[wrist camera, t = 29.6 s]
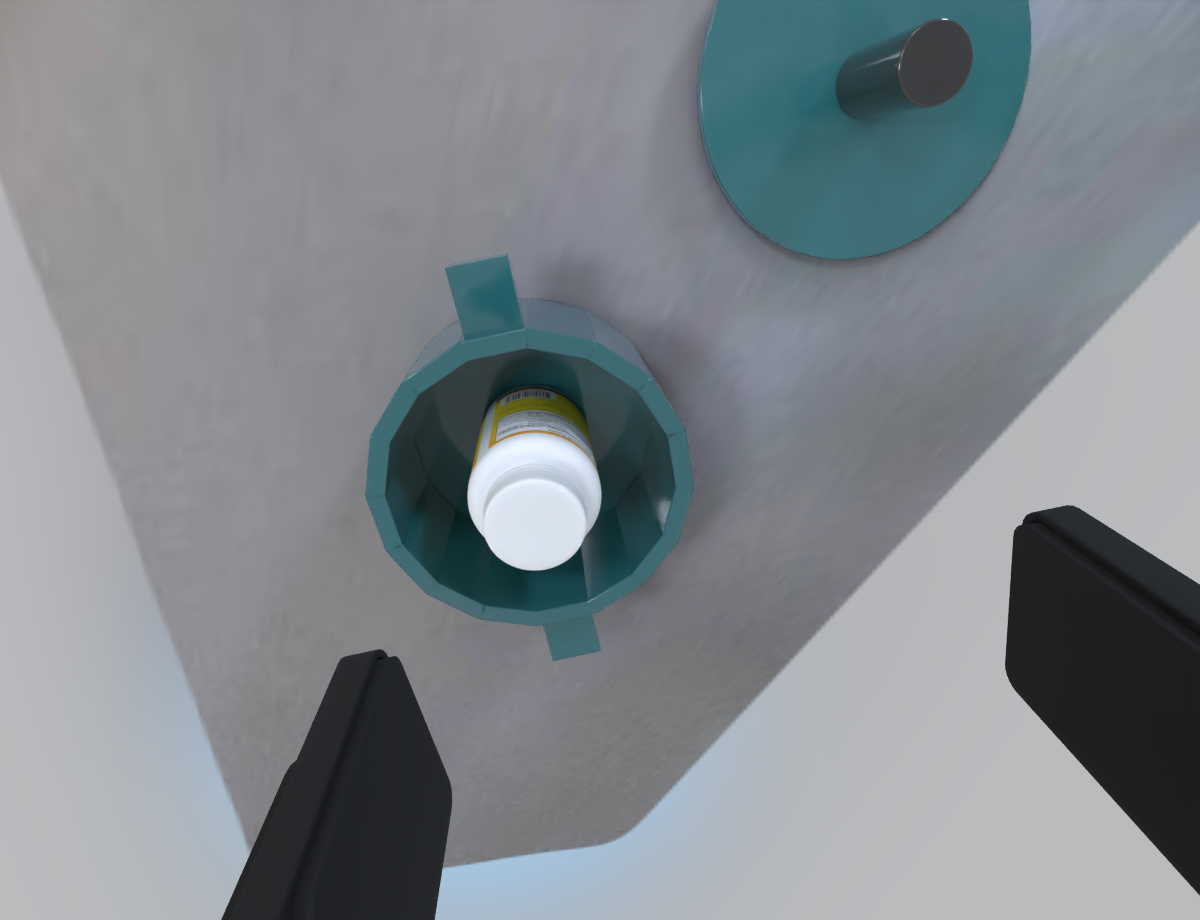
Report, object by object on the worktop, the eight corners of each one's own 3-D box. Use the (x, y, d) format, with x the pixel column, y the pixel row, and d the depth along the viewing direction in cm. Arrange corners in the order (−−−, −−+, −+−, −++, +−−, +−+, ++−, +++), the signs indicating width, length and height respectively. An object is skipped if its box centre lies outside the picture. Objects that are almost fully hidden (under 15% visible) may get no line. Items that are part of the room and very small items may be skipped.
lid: (1024, -152, 27) (1167, -250, 21) (1004, 223, 33) (1112, 233, 27) (671, -79, 27) (711, -155, 21) (714, 284, 33) (755, 308, 27)
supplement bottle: (535, 501, 36) (534, 614, 27) (458, 432, 34) (428, 528, 25) (610, 433, 35) (637, 526, 25) (535, 358, 33) (534, 429, 24)
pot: (629, 215, 31) (655, 225, 24) (684, 555, 39) (716, 636, 32) (346, 274, 31) (292, 301, 24) (456, 603, 39) (438, 695, 32)
